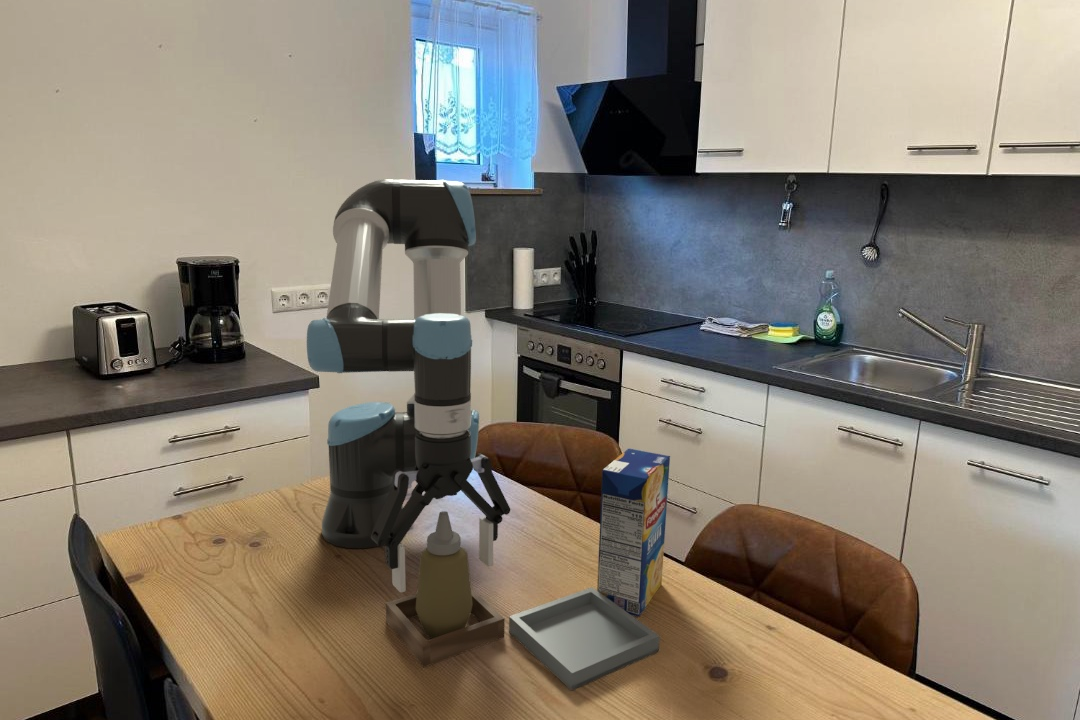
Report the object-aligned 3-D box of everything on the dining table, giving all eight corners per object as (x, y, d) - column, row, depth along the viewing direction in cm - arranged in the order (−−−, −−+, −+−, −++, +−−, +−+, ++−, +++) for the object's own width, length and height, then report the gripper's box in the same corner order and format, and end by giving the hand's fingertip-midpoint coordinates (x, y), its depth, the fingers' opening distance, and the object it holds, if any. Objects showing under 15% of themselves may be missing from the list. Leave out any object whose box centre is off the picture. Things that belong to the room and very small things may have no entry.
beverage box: (596, 605, 112) (602, 470, 108) (622, 573, 122) (628, 448, 117) (638, 617, 109) (646, 479, 105) (661, 584, 119) (670, 455, 114)
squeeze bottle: (462, 650, 101) (462, 529, 97) (407, 641, 102) (404, 522, 98) (479, 617, 108) (480, 504, 104) (427, 610, 110) (426, 498, 106)
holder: (386, 621, 107) (385, 602, 106) (462, 597, 114) (462, 579, 113) (423, 667, 97) (423, 647, 96) (504, 637, 104) (504, 618, 103)
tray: (508, 631, 105) (509, 616, 104) (591, 601, 113) (592, 587, 113) (571, 690, 93) (572, 673, 92) (658, 651, 101) (659, 635, 101)
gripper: (364, 453, 89) (369, 612, 93) (535, 423, 102) (532, 562, 107) (342, 437, 95) (348, 586, 99) (507, 410, 109) (505, 542, 113)
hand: (444, 574), depth 103 cm, fingers open, 13 cm apart
